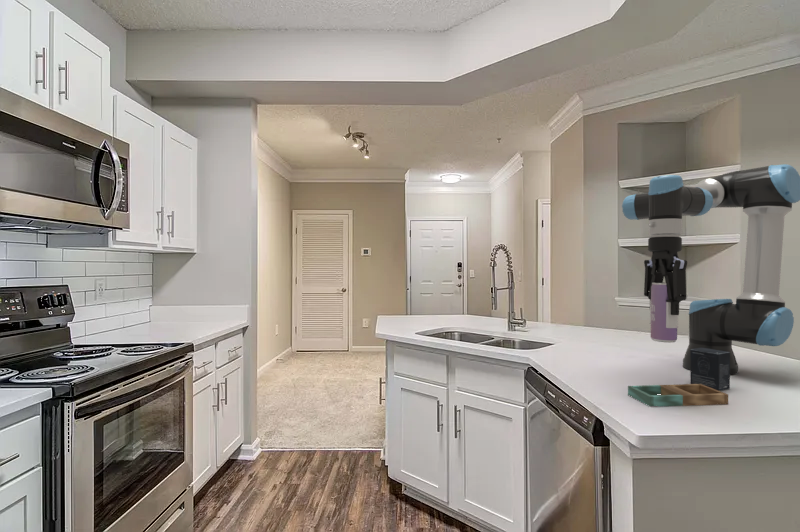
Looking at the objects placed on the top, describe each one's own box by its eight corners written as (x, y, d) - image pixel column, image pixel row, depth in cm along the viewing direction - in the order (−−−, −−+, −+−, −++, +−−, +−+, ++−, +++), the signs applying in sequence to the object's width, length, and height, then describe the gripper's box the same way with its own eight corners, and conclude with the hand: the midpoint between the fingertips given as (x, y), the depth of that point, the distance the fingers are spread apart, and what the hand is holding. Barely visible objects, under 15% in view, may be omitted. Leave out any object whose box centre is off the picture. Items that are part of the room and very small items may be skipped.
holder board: (700, 392, 125) (700, 383, 125) (728, 404, 115) (728, 394, 115) (627, 395, 123) (627, 385, 123) (649, 406, 114) (649, 396, 114)
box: (730, 389, 128) (730, 351, 128) (718, 392, 126) (718, 353, 126) (701, 382, 135) (701, 346, 135) (689, 384, 133) (689, 348, 133)
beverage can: (681, 343, 115) (681, 283, 115) (655, 342, 116) (656, 283, 116) (671, 339, 121) (672, 282, 121) (647, 338, 122) (647, 282, 122)
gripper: (629, 237, 127) (628, 321, 127) (675, 234, 108) (674, 331, 109) (655, 238, 128) (654, 320, 128) (705, 234, 109) (704, 331, 109)
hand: (663, 325), depth 118 cm, fingers closed on beverage can, 6 cm apart
